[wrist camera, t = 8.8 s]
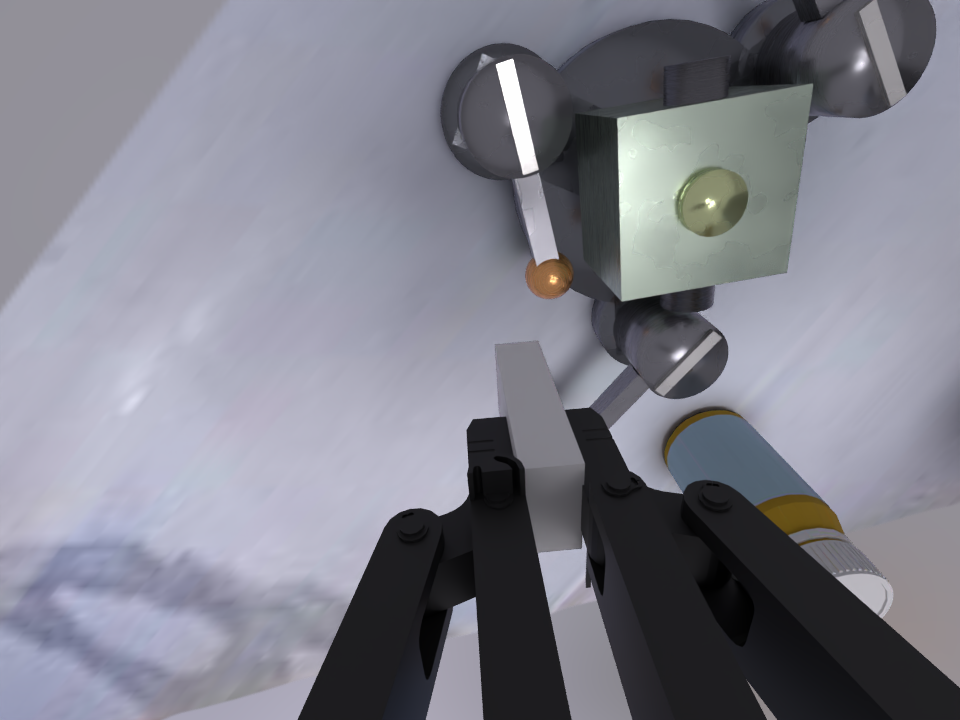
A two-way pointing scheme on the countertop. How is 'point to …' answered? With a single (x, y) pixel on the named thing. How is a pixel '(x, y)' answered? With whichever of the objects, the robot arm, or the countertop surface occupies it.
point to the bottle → (772, 495)
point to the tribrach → (666, 162)
